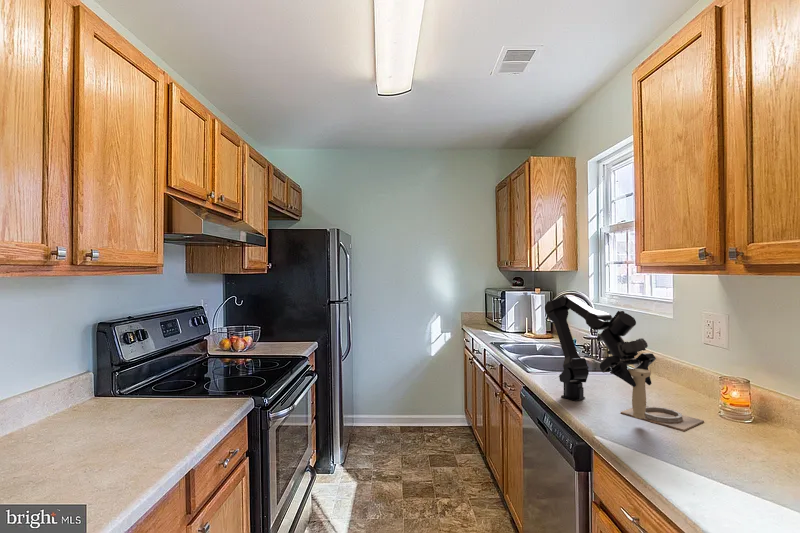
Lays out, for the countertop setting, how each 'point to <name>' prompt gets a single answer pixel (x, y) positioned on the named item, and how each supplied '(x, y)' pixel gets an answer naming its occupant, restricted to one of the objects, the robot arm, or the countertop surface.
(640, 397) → the handle
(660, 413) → the socket board
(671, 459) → the countertop surface
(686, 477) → the countertop surface
